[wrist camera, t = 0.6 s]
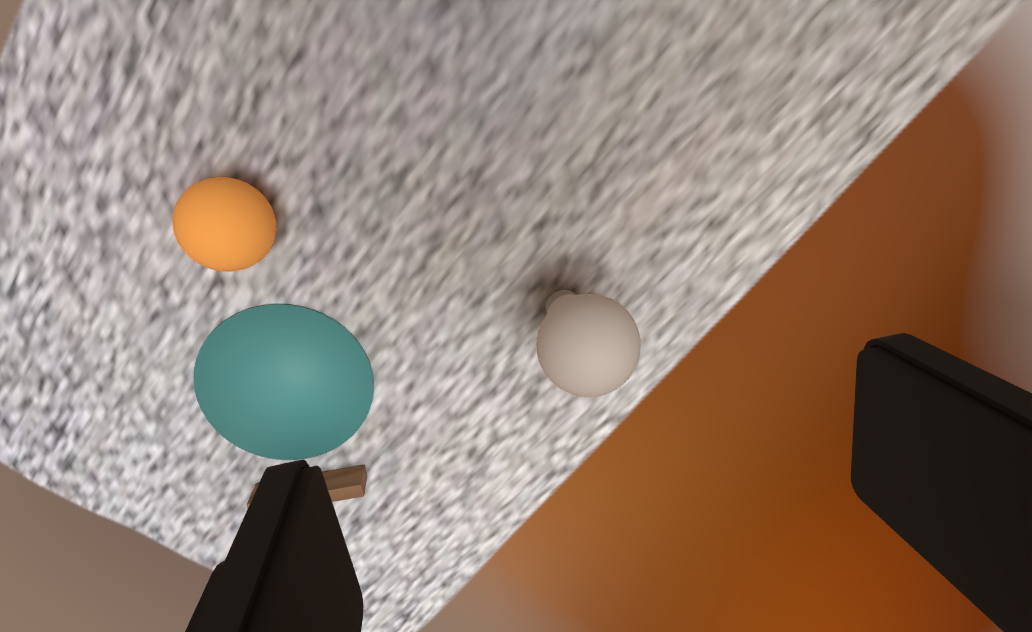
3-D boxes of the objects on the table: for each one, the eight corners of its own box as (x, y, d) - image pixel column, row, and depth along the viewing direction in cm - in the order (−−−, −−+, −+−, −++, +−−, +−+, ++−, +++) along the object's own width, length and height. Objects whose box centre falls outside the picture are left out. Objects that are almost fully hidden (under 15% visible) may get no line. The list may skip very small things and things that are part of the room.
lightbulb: (534, 354, 44) (566, 431, 33) (506, 280, 42) (531, 338, 31) (611, 324, 44) (667, 392, 34) (588, 248, 42) (640, 297, 31)
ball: (181, 178, 36) (141, 190, 31) (273, 166, 37) (248, 177, 32) (207, 264, 38) (173, 289, 33) (294, 252, 39) (274, 275, 34)
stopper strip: (256, 483, 44) (246, 504, 42) (364, 464, 45) (361, 484, 43) (259, 494, 44) (250, 516, 42) (367, 475, 45) (364, 496, 43)
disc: (171, 318, 39) (170, 319, 39) (354, 292, 40) (354, 292, 40) (222, 471, 43) (221, 472, 43) (387, 443, 45) (387, 444, 44)
